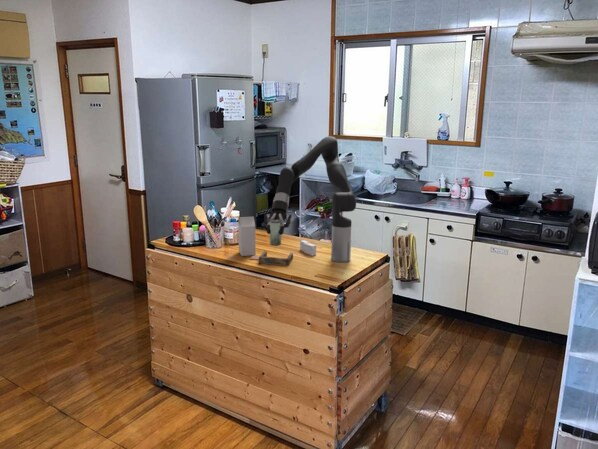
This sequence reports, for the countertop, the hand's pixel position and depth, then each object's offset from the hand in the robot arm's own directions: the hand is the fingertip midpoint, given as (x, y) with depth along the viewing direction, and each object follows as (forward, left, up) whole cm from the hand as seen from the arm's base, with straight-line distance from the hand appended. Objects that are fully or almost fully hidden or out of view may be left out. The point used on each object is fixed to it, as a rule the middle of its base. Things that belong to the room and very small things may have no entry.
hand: (274, 233), depth 234 cm
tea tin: (0, -2, -6) cm, 6 cm away
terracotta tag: (+10, -3, -14) cm, 17 cm away
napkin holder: (-13, -20, -15) cm, 28 cm away
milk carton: (+16, -9, -14) cm, 24 cm away
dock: (-1, -1, -14) cm, 14 cm away
